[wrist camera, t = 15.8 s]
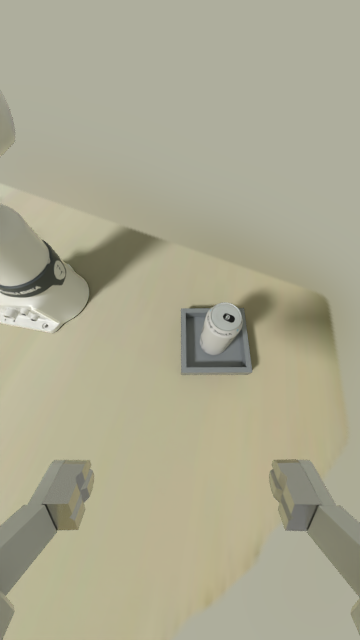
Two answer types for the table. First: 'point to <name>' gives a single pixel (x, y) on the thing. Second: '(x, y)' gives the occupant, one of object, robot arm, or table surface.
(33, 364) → the table surface
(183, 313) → the gray tray
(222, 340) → the energy drink can
